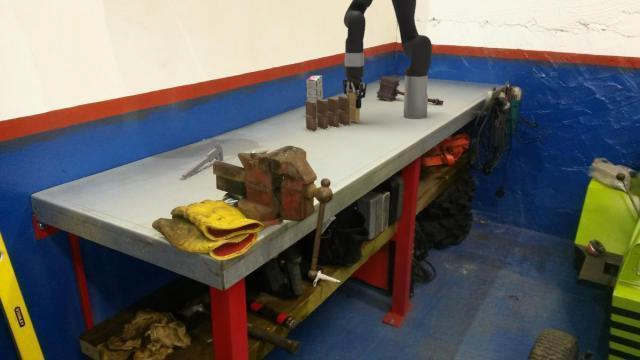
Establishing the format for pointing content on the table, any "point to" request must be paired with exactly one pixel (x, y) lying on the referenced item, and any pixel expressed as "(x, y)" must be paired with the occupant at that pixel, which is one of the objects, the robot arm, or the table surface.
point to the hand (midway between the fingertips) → (354, 106)
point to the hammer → (395, 90)
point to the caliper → (205, 161)
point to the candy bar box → (314, 88)
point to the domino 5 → (354, 108)
